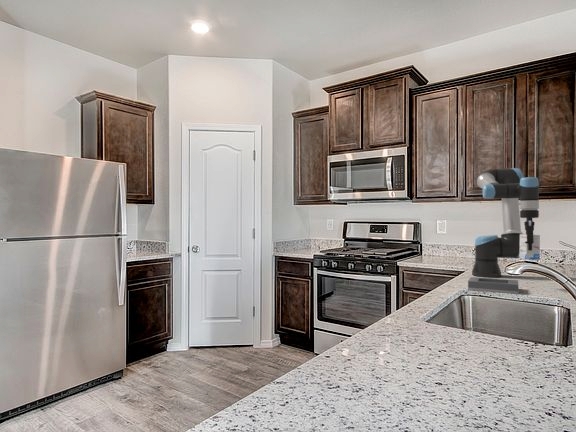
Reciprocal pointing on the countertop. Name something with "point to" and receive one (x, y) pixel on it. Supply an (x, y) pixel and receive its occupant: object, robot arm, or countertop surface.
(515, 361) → the countertop surface
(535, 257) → the ink box
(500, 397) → the countertop surface
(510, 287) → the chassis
